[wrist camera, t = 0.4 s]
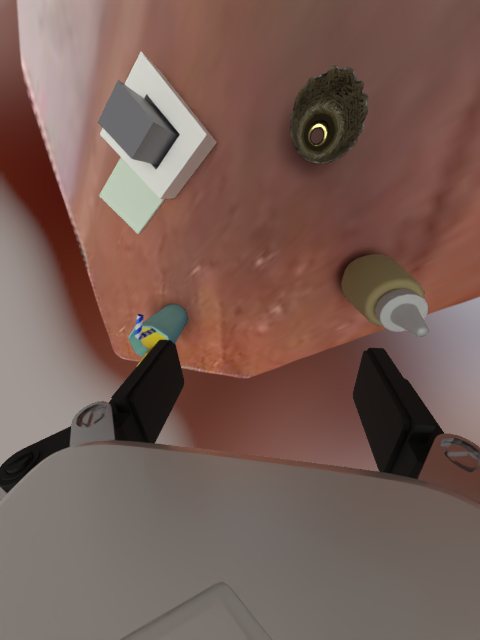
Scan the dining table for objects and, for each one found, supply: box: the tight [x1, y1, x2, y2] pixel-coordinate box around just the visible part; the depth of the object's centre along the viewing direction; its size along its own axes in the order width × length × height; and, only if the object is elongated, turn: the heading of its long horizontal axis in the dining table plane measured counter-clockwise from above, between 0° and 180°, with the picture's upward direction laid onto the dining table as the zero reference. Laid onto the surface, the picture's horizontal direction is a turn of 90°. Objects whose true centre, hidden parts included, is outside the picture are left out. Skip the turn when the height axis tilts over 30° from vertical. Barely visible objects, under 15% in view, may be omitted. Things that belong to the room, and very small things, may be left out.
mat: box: [99, 158, 165, 234], centre depth 36 cm, size 8×8×1 cm
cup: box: [128, 304, 188, 366], centre depth 40 cm, size 14×8×15 cm, turn 165°
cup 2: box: [290, 66, 368, 164], centre depth 26 cm, size 8×7×8 cm
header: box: [100, 52, 217, 199], centre depth 30 cm, size 10×10×5 cm
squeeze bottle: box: [341, 254, 429, 337], centre depth 29 cm, size 8×8×18 cm
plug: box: [98, 80, 180, 165], centre depth 27 cm, size 4×4×10 cm
